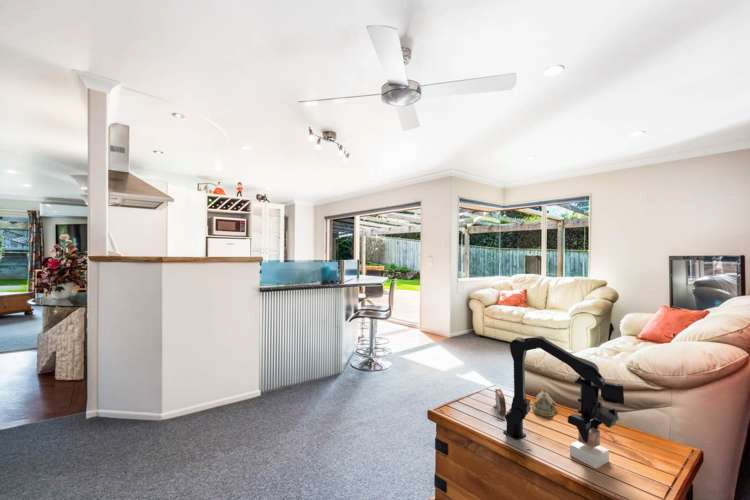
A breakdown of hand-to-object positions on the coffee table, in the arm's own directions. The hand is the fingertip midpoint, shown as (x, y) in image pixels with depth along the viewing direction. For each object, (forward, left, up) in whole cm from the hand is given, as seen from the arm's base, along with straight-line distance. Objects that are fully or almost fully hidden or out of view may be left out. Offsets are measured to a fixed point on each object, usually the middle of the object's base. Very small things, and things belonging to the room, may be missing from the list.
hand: (589, 440), depth 120 cm
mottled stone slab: (+4, +42, -7) cm, 43 cm away
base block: (0, 0, -6) cm, 6 cm away
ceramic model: (+23, +31, -7) cm, 39 cm away
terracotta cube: (0, 0, -1) cm, 1 cm away
